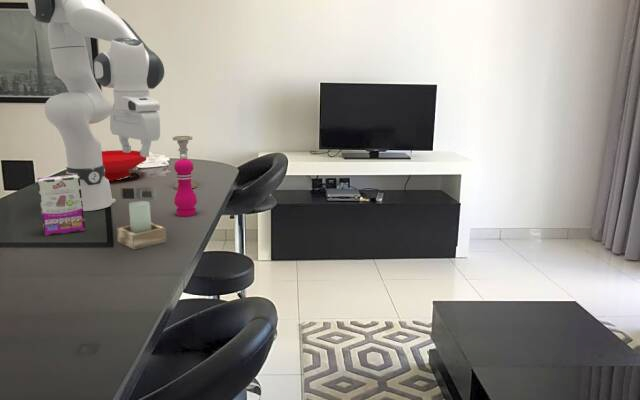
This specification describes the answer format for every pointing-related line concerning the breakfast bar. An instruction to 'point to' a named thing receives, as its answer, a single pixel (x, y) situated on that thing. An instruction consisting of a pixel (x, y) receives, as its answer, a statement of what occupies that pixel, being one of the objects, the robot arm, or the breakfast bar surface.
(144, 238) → the square wooden tray
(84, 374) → the breakfast bar surface
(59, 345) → the breakfast bar surface
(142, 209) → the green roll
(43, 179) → the candy bar box
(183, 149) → the candle holder
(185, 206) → the pepper mill
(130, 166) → the bowl
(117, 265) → the breakfast bar surface
